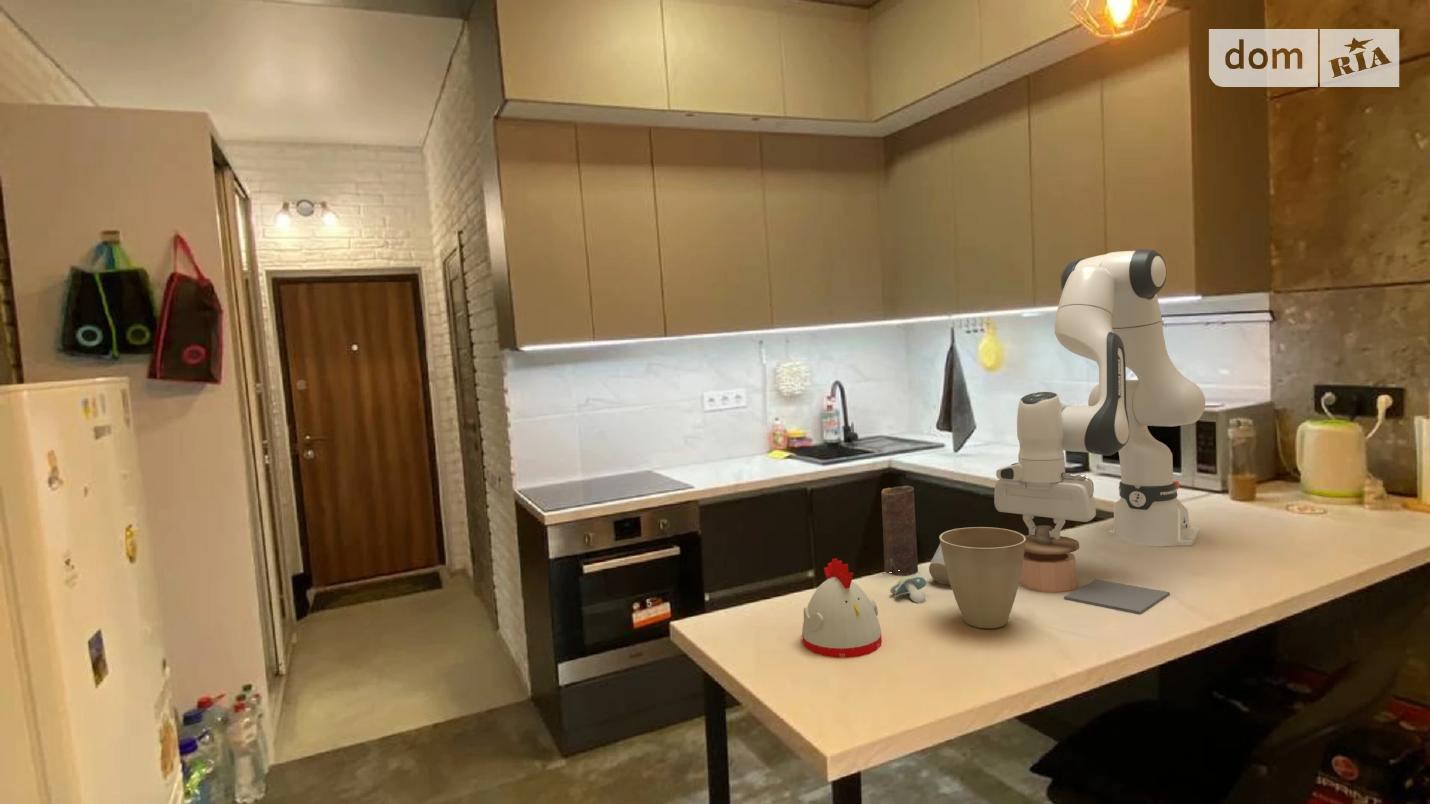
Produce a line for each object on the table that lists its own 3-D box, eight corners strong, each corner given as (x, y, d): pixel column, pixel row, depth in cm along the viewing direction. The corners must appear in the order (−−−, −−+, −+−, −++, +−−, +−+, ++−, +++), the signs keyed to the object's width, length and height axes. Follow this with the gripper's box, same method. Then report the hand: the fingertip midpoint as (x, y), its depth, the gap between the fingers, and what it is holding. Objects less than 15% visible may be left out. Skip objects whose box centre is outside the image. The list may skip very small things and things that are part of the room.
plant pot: (929, 626, 141) (925, 541, 140) (963, 603, 152) (959, 524, 151) (1011, 643, 131) (1007, 551, 130) (1041, 616, 142) (1037, 531, 141)
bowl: (1034, 572, 168) (1033, 545, 168) (1085, 581, 160) (1084, 553, 160) (1008, 585, 161) (1007, 557, 161) (1060, 595, 153) (1058, 565, 153)
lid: (1030, 539, 169) (1029, 517, 169) (1090, 547, 159) (1089, 524, 159) (999, 551, 161) (998, 529, 161) (1060, 561, 151) (1059, 537, 151)
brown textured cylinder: (919, 580, 169) (914, 490, 167) (885, 581, 170) (880, 491, 169) (917, 570, 176) (912, 484, 175) (884, 570, 178) (879, 485, 176)
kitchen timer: (829, 664, 128) (823, 576, 127) (788, 638, 141) (783, 557, 140) (897, 646, 134) (893, 561, 133) (853, 622, 146) (848, 545, 145)
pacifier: (911, 587, 162) (923, 570, 158) (927, 612, 158) (940, 595, 154) (883, 593, 158) (894, 576, 155) (899, 619, 154) (911, 602, 151)
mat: (1095, 581, 160) (1095, 579, 160) (1169, 594, 149) (1169, 592, 149) (1064, 598, 151) (1064, 596, 151) (1140, 614, 140) (1140, 611, 140)
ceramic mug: (942, 591, 165) (918, 566, 165) (958, 564, 169) (935, 539, 169) (977, 585, 156) (952, 558, 156) (993, 556, 160) (969, 530, 160)
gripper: (1100, 472, 153) (1102, 541, 154) (1004, 465, 169) (1007, 528, 170) (1085, 477, 149) (1088, 548, 150) (988, 470, 165) (991, 533, 166)
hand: (1044, 537), depth 160 cm, fingers closed on lid, 3 cm apart
